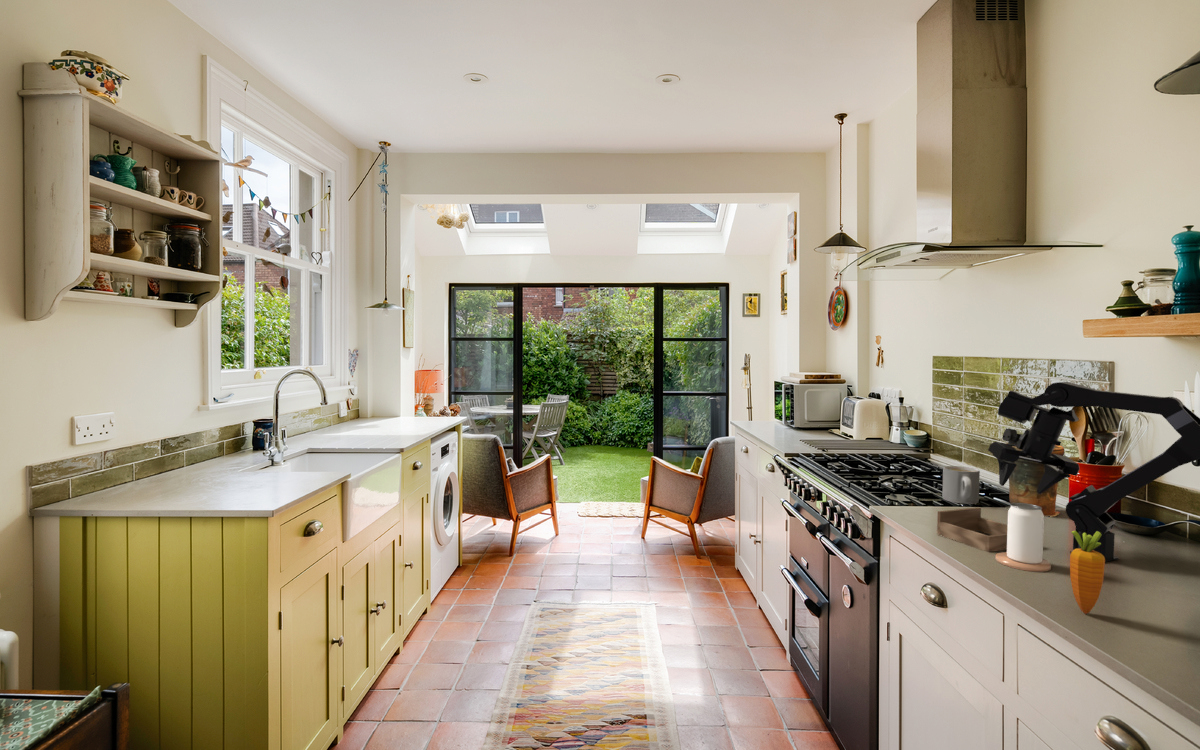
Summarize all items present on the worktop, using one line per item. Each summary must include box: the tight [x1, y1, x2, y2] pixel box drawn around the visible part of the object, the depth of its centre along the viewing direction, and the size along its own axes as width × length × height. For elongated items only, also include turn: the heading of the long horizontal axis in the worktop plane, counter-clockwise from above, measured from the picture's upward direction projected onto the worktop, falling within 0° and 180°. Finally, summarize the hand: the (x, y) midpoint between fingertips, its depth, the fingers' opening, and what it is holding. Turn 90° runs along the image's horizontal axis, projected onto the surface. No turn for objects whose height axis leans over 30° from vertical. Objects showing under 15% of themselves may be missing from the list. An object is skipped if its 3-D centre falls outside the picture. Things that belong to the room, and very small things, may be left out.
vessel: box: [1004, 442, 1066, 518], centre depth 176 cm, size 14×14×20 cm
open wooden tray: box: [936, 506, 1008, 553], centre depth 148 cm, size 14×14×6 cm
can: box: [1006, 503, 1045, 564], centre depth 131 cm, size 6×6×12 cm
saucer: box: [995, 551, 1052, 573], centre depth 132 cm, size 10×10×1 cm
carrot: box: [1069, 530, 1106, 615], centre depth 106 cm, size 5×5×15 cm
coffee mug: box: [941, 465, 981, 505], centre depth 188 cm, size 13×10×10 cm
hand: (1019, 489), depth 147 cm, fingers open, 9 cm apart
